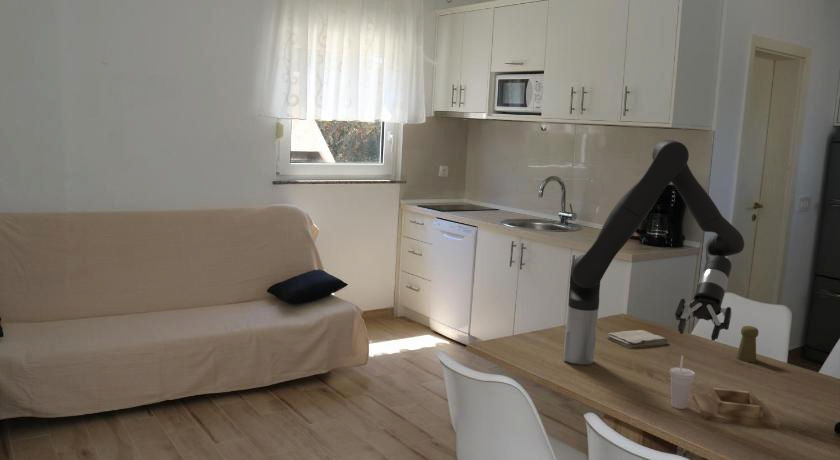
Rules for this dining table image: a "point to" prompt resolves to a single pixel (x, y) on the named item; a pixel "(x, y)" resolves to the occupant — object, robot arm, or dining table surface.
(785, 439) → the dining table surface
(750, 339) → the cork
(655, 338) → the washcloth
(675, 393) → the smoothie
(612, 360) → the dining table surface
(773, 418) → the open wooden box
